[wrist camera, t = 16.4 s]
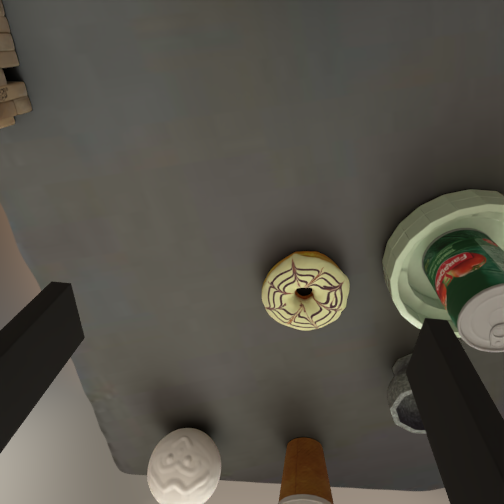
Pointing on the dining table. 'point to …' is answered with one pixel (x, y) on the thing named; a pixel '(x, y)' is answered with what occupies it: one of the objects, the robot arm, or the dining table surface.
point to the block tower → (10, 92)
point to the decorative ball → (184, 468)
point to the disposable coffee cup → (305, 474)
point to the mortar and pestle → (403, 399)
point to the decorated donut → (305, 276)
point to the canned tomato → (469, 285)
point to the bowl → (422, 234)
